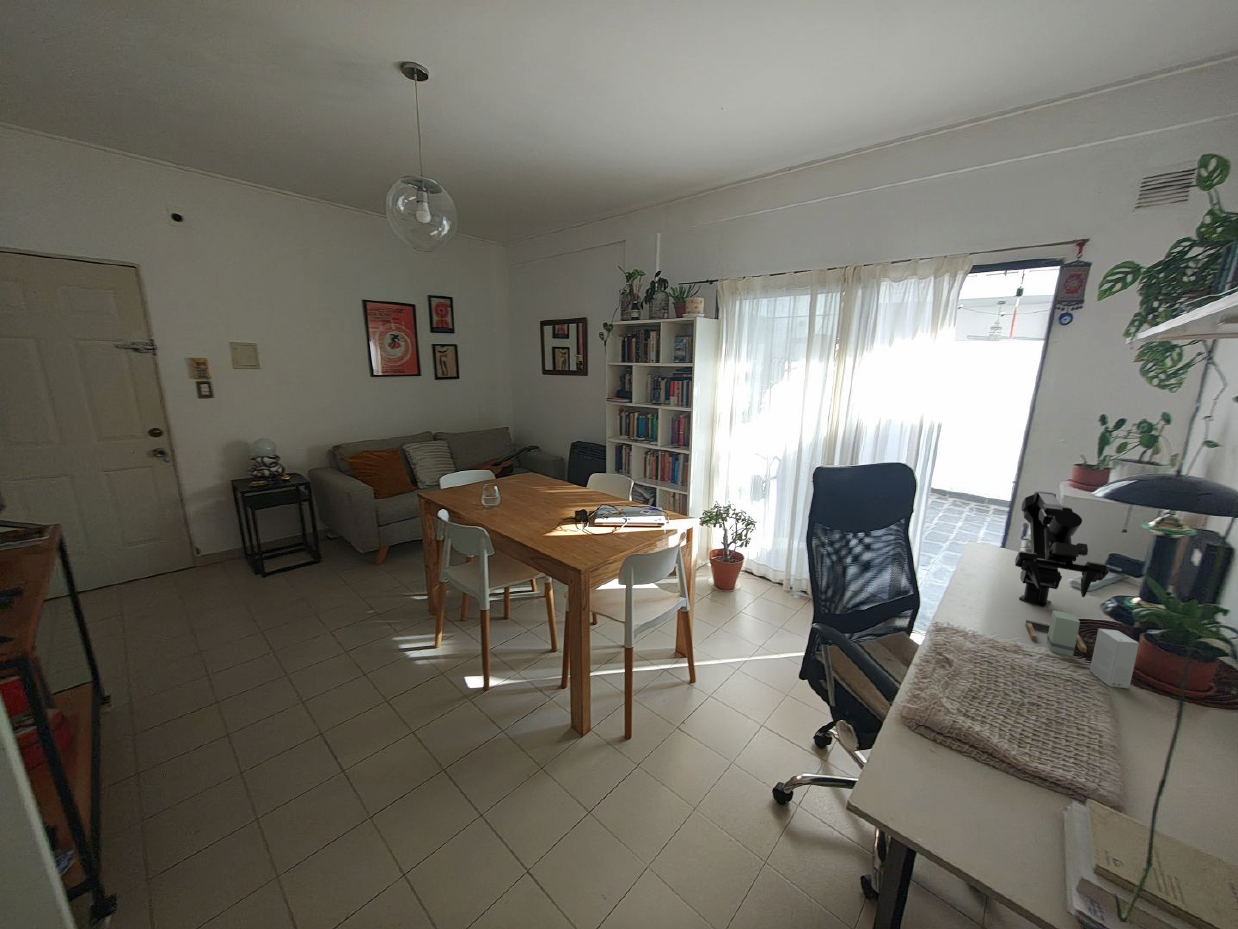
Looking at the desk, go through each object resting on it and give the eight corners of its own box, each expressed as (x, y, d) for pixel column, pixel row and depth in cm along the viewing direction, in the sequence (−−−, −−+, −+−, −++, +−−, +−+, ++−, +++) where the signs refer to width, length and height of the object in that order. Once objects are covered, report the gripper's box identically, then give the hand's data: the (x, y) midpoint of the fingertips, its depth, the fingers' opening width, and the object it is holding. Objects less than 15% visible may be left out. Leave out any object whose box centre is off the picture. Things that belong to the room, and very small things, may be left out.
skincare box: (1130, 689, 106) (1140, 643, 104) (1108, 687, 107) (1118, 641, 105) (1108, 673, 112) (1117, 629, 110) (1088, 671, 113) (1097, 628, 111)
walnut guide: (1025, 625, 134) (1026, 619, 134) (1076, 636, 128) (1077, 631, 128) (1031, 640, 126) (1032, 634, 126) (1085, 653, 120) (1087, 647, 120)
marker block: (1046, 642, 125) (1052, 610, 123) (1068, 648, 123) (1075, 614, 121) (1049, 650, 122) (1056, 617, 120) (1073, 656, 119) (1080, 622, 117)
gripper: (1023, 525, 133) (1024, 572, 126) (1113, 537, 122) (1119, 589, 115) (1014, 542, 141) (1014, 588, 134) (1098, 555, 130) (1103, 605, 123)
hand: (1060, 592), depth 126 cm, fingers open, 9 cm apart
